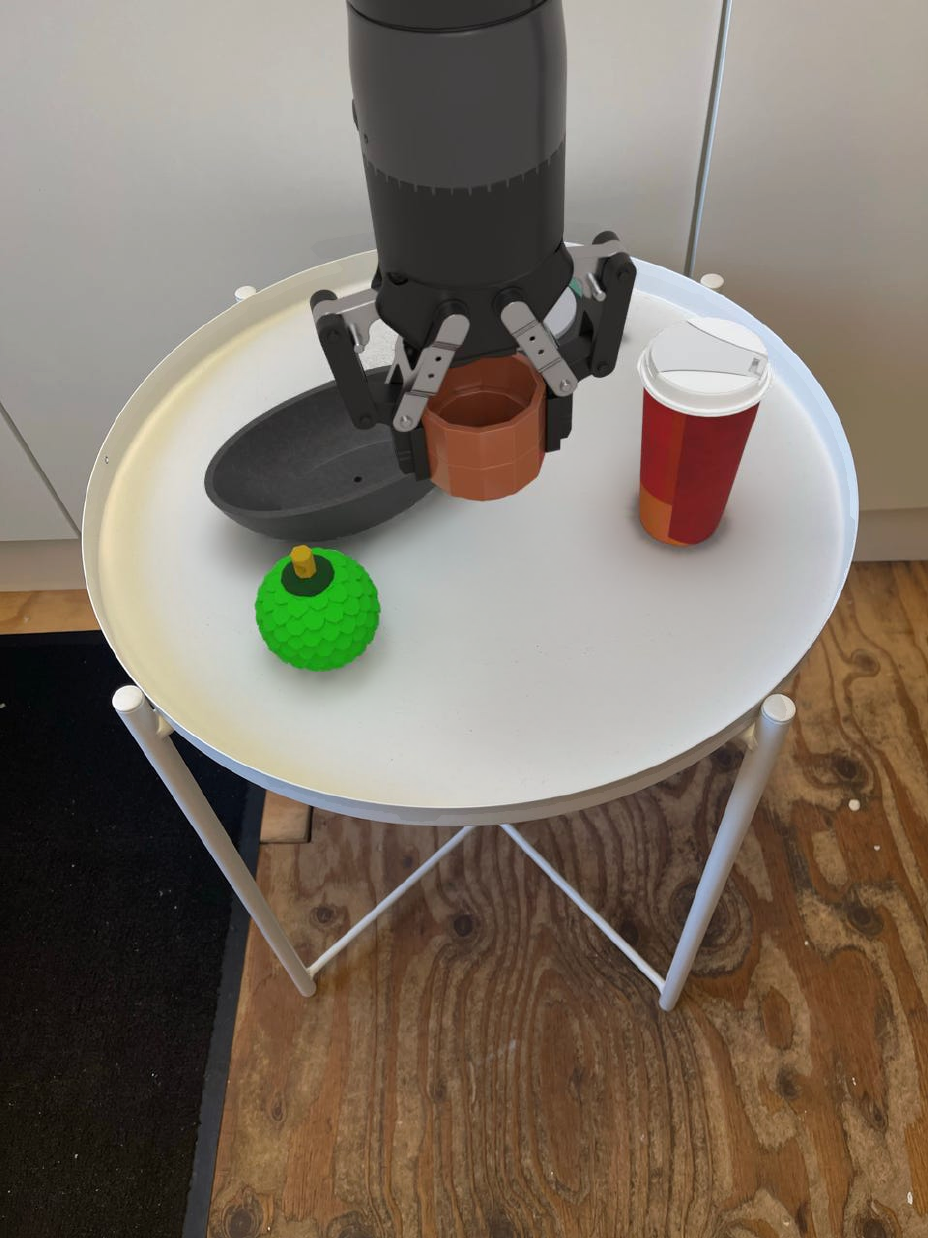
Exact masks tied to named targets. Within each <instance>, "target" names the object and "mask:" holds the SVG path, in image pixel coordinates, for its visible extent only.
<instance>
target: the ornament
mask: <svg viewBox="0 0 928 1238" xmlns="http://www.w3.org/2000/svg"><path fill="white" fill-rule="evenodd" d="M256 595H257V597H256V599H255V602H254V608H255V611H256V612H255V622H256V625H257V626H258V631H259V633H260V636H261V638H262V640H263V642H265V644H266V646H267V648H268V650H269V651H270V652H271V653H273V654H275V655H276V656H277V658H279V659H280V661H281V662H283V663H285V664H289V665H290V666H292V668H295V669H298V670H303V669H305V670H308V671H309V672H313V673H314V672H315V673H318V672H329V671H330V672H331V671H332V670H338V669H342V668H343V667H345V666H346V665H347V664H350V663H353V661H355V659H356V658H358V657H360V656H361V655H362V654H363V653H364V652H365V651H366V649H367V647H368V645H370V644H371V643H372V642H373V640H374V638H375V635H376V631H377V629H378V628H379V625H380V615H379V614H380V613H382V611H381V603H380V601H379V596H378V595H379V591H378V588H377V586H376V585H375V583H374V581H373V579H372V578H371V575H370V573H369V572H368V571H366V568H365V567H364V566H363V565H362V564H360V563H359V562H357V560H356V559H354V558H352V557H350V556H348V555H346V554H344V553H342V552H341V551H339V550H336V549H328V548H327V549H324V548H323V547H312V548H310V547H309V546H307V545H306V544H301V545H298V546H294V547H293V548H292V549H291V552H290V554H289V555H287V556H284V557H283V558H280V559H279V560H278V561H277V562H276V563H275V564H274V565H273V567H272V568H271V570H269V571H268V572H267V573H266V574H265V575H264V576H263V580H262V582H261V584H260V586H259V587H258V590H257V592H256Z"/></svg>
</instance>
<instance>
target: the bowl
mask: <svg viewBox="0 0 928 1238" xmlns="http://www.w3.org/2000/svg"><path fill="white" fill-rule="evenodd" d="M391 366H392V364H387V365H382V366H377V367H373V368H368V369H364V371H365V373H366V376H367V379H368V382H371V383H385V381H386V378H387V376H388V373H389V371H390V368H391ZM203 487H204V491H205V494H206V496H207V498H208V499H209V500H210V502H211V503H212V504H213V505H214V506H215V507H217V509H218V510H219V511H221V512H222V513H223V514H224V515H225V516H226V517H228V518H229V519H231V520H232V521H233V522H235V523H236V524H239V525H241V526H242V527H243V528H245V529H247V530H250V531H252V532H254V533H256V534H259V535H262V536H265V537H268V538H272V539H275V540H282V541H289V542H297V543H298V542H299V543H315V542H324V541H330V540H336V539H340V538H344V537H348V536H352V535H354V534H357V533H360V532H364V531H365V530H369V529H371V528H373V527H376V526H378V525H380V524H382V523H384V522H387V521H388V520H390V519H392V518H394V517H396V516H397V515H400V514H401V513H403V512H405V511H406V510H408V509H409V508H411V507H412V506H414V505H415V504H417V503H418V502H419V501H421V500H422V499H423V498H424V497H425V496H426V495H428V493H430V492H431V491H432V490H433V489H435V488H436V487H437V485H436V484H434V483H433V482H432V481H430V480H425V481H421V482H416V479H415V476H414V473H410V474H406V475H405V474H404V473H403V472H402V471H401V469H400V468H399V464H398V461H397V458H396V454H395V451H394V447H393V440H392V435H391V429H390V427H389V426H388V425H385V424H378V423H377V424H376V425H375V426H374V427H373V428H371V429H368V430H360V429H357V428H356V427H355V426H354V425H353V423H352V420H351V418H350V415H349V413H348V410H347V408H346V406H345V403H344V401H343V398H342V396H341V393H340V391H339V388H338V386H337V383H336V381H335V379H333V380H330V381H327V382H324V383H322V384H319V385H317V386H315V387H312V388H309V389H307V390H305V391H303V392H300V393H299V394H297V395H294V396H292V397H290V398H288V399H287V400H284V401H282V402H280V403H278V404H277V405H275V406H273V407H271V408H269V409H268V410H266V411H264V412H263V413H261V414H259V415H258V416H257V417H255V418H254V419H252V420H250V421H249V422H248V423H246V424H245V425H244V426H242V427H241V428H239V430H237V431H236V432H235V433H233V434H232V435H231V436H230V437H229V438H228V439H227V440H226V441H225V442H224V443H223V444H222V445H221V446H220V447H219V448H218V450H217V451H216V452H215V453H214V455H213V457H212V458H211V459H210V462H209V463H208V464H207V467H206V470H205V473H204V478H203Z"/></svg>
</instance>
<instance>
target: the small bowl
mask: <svg viewBox="0 0 928 1238" xmlns="http://www.w3.org/2000/svg"><path fill="white" fill-rule="evenodd" d="M420 419H421V422H422V424H423V427H424V433H425V441H426V448H427V456H428V463H429V471H430V481H432V482H433V483H434V484H436V487H439V488H440V489H441V490H442V491H444V492H445V493H447V494H448V495H449V496H450V497H453V498H459V499H464V500H468V501H473V502H474V501H475V502H489V501H496V500H500V499H504V498H507V497H509V496H513V495H516V494H518V493H519V492H520V491H522V490H523V489H525V487H527V486H528V485H529V484H530V483H531V482H533V481H535V480H536V479H537V478H538V477H539V475H540V473H541V470H542V466H543V463H544V460H545V457H546V454H547V453H546V384H545V382H544V379H543V377H542V375H541V373H539V372H538V371H537V370H536V368H535V367H534V365H533V364H532V363H531V361H530V360H529V359H528V358H527V357H525V356H523V355H522V354H520V353H518V352H517V354H516V355H511V356H507V357H502V358H481V359H479V360H477V361H475V362H472V363H470V364H468V365H466V366H461V367H456V368H452V369H449V368H448V370H447V373H446V375H445V377H444V379H443V382H442V384H441V386H440V388H439V391H438V393H437V394H436V396H430V398H429V400H428V402H427V405H426V407H425V409H424V412H423V414H422V416H421V418H420Z"/></svg>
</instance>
